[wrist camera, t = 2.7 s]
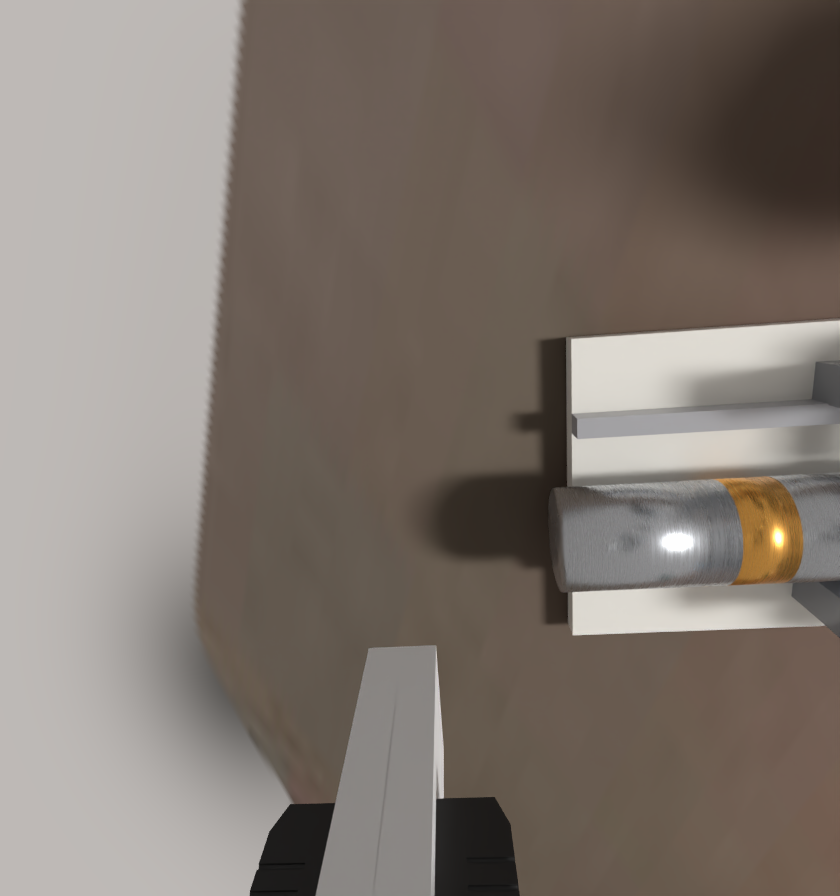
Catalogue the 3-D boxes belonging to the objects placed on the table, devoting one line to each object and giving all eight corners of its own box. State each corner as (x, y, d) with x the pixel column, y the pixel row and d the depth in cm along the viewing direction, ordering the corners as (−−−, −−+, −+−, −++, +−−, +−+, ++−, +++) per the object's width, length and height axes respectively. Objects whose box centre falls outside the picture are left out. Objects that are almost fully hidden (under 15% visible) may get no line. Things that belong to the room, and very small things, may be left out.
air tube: (545, 532, 25) (562, 613, 22) (552, 466, 22) (571, 548, 19) (880, 516, 24) (945, 598, 21) (929, 445, 21) (1012, 527, 18)
